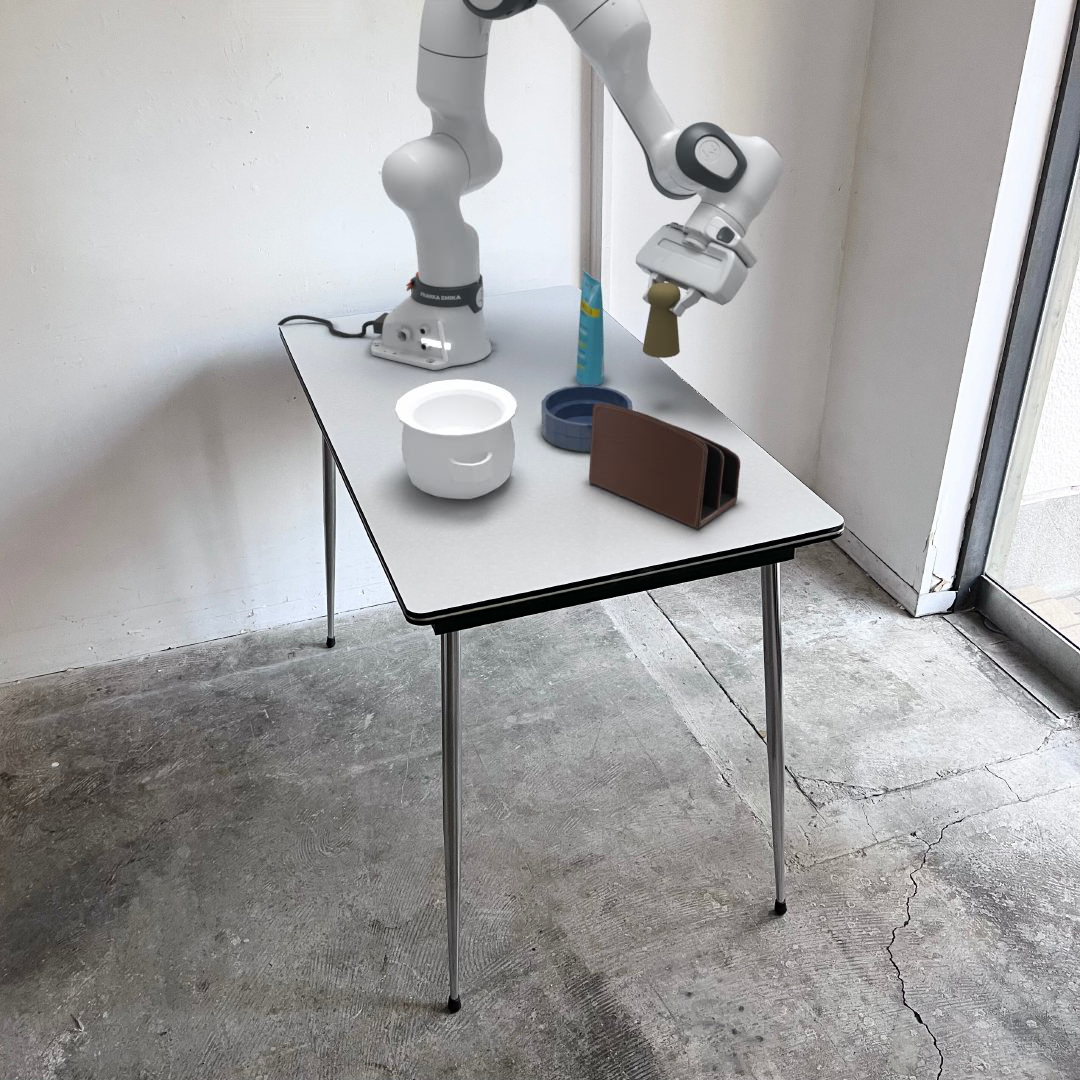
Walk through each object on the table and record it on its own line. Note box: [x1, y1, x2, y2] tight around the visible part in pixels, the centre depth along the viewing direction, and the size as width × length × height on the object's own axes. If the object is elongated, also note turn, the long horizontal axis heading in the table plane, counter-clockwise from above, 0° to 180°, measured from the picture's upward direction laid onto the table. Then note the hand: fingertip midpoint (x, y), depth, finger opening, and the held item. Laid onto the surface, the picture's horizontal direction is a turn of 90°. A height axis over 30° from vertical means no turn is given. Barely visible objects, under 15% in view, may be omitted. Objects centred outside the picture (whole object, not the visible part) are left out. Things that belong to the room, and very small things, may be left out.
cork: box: [642, 282, 682, 359], centre depth 174 cm, size 6×6×11 cm
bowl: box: [540, 384, 633, 452], centre depth 174 cm, size 14×14×5 cm
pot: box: [394, 378, 518, 500], centre depth 159 cm, size 22×17×12 cm
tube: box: [575, 268, 605, 386], centre depth 187 cm, size 7×5×19 cm, turn 26°
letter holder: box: [588, 403, 741, 531], centre depth 155 cm, size 10×20×14 cm, turn 48°
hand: (660, 308), depth 173 cm, fingers closed on cork, 5 cm apart
